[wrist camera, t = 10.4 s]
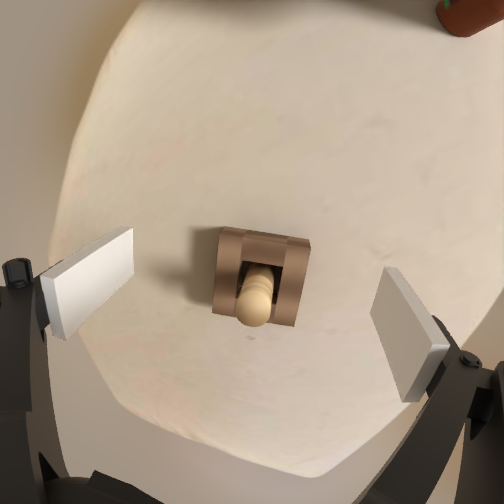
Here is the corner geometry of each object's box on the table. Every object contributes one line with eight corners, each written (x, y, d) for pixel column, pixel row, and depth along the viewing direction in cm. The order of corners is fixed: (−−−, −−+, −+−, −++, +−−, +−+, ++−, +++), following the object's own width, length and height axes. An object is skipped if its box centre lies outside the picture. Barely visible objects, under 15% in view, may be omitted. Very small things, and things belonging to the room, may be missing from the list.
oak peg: (249, 257, 46) (237, 293, 34) (276, 261, 45) (273, 299, 34) (246, 282, 47) (233, 323, 36) (272, 286, 47) (267, 329, 35)
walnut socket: (225, 226, 44) (219, 233, 41) (308, 239, 44) (310, 248, 40) (217, 300, 48) (212, 312, 45) (293, 313, 48) (293, 326, 44)
